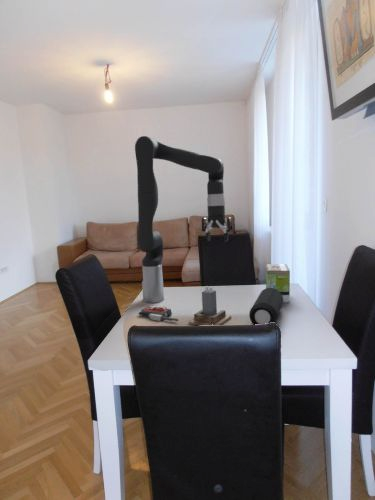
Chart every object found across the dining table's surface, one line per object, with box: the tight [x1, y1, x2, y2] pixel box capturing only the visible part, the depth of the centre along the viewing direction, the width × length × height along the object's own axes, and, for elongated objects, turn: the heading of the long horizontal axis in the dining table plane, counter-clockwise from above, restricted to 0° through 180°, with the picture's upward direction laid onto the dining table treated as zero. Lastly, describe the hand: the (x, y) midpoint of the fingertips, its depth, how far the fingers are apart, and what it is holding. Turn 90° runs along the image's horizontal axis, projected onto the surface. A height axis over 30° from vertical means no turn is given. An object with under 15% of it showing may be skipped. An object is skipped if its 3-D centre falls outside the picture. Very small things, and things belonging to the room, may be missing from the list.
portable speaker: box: [248, 287, 284, 326], centre depth 137 cm, size 26×10×10 cm, turn 159°
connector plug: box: [201, 285, 218, 316], centre depth 138 cm, size 4×4×13 cm
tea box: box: [265, 263, 291, 303], centre depth 163 cm, size 15×10×15 cm, turn 170°
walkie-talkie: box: [138, 305, 179, 322], centre depth 146 cm, size 9×4×20 cm
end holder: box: [187, 308, 232, 326], centre depth 138 cm, size 12×13×4 cm
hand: (217, 241), depth 158 cm, fingers open, 8 cm apart
